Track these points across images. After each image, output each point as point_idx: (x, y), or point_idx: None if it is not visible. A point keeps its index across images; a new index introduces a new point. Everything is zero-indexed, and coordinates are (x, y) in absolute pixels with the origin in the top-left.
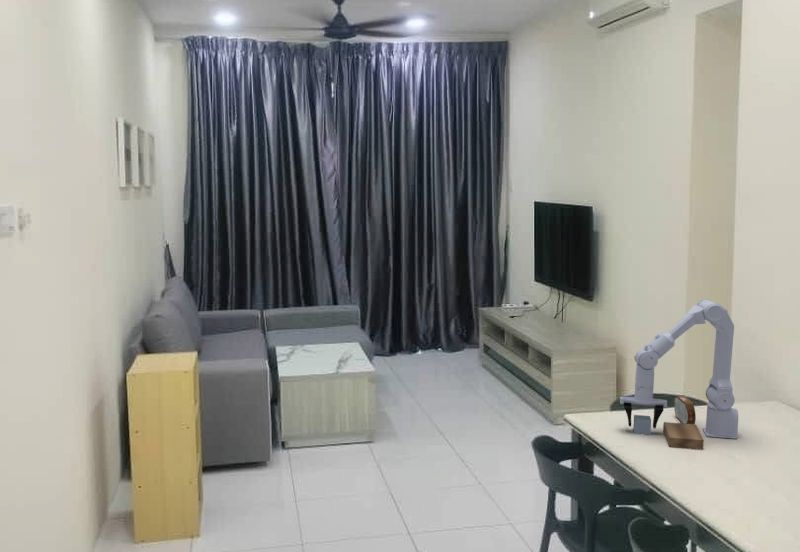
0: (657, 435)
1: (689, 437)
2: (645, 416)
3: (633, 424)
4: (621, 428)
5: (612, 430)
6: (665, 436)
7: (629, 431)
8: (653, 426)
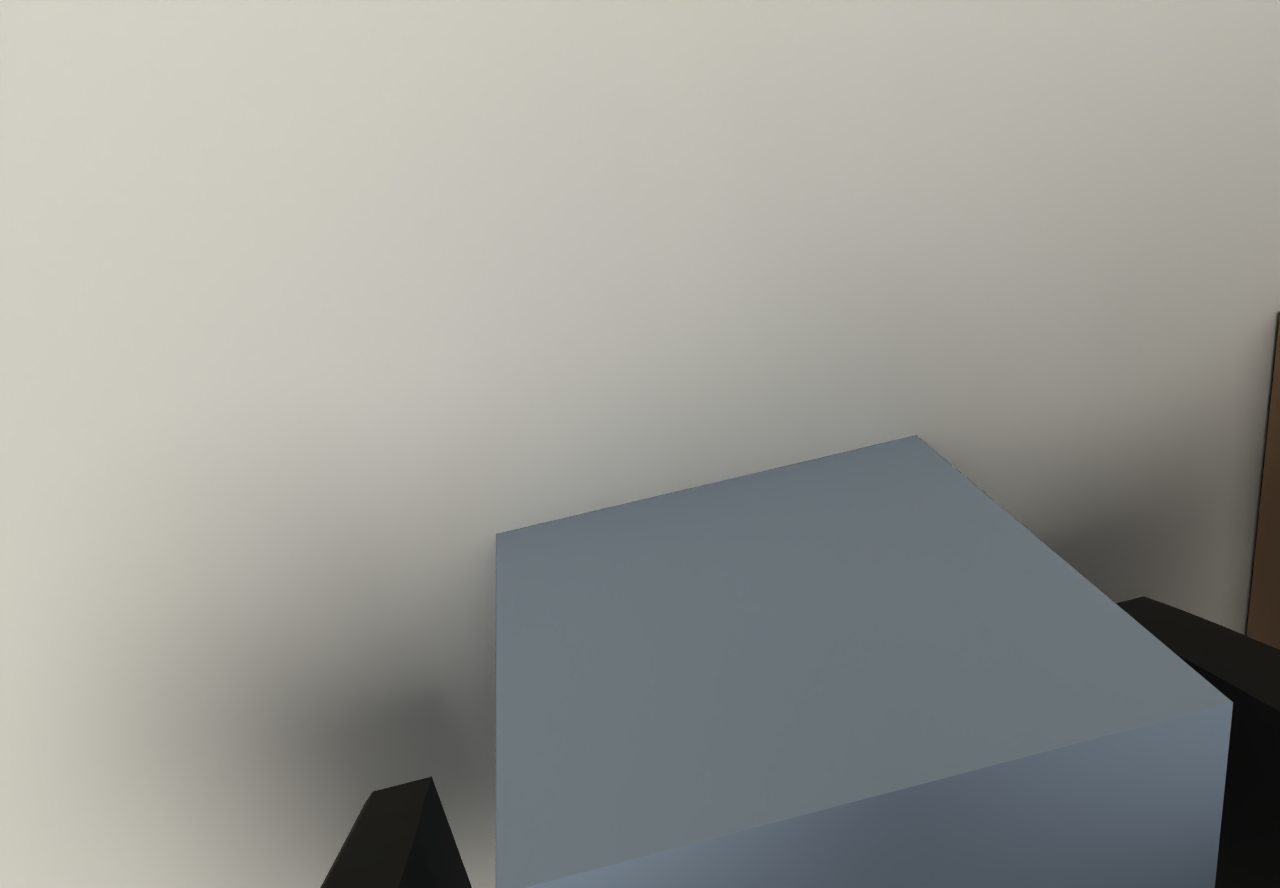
0: None
1: None
2: (1029, 869)
3: (497, 614)
4: (168, 624)
5: (11, 881)
6: None
7: (441, 750)
8: None
